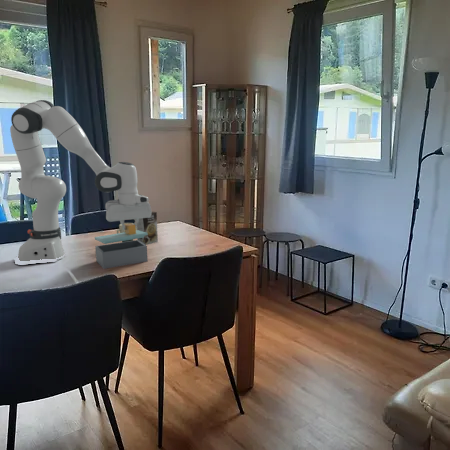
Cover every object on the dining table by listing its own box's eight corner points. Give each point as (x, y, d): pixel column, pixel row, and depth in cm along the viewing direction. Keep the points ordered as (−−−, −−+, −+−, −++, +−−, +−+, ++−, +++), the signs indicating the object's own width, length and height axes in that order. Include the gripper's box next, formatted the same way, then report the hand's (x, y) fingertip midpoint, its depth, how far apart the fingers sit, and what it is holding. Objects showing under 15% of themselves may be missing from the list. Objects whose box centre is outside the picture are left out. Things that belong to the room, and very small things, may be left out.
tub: (103, 270, 191) (102, 252, 189) (96, 263, 201) (95, 246, 199) (147, 262, 201) (146, 245, 199) (138, 256, 211) (137, 239, 209)
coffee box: (145, 245, 228) (144, 215, 224) (137, 243, 232) (135, 213, 228) (158, 241, 235) (157, 212, 232) (150, 239, 239) (148, 210, 235)
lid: (102, 245, 188) (100, 231, 187) (95, 241, 198) (93, 228, 197) (147, 237, 198) (146, 224, 197) (138, 234, 208) (137, 221, 207)
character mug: (121, 253, 215) (119, 227, 212) (115, 250, 221) (113, 224, 218) (141, 249, 222) (139, 224, 219) (134, 246, 227) (133, 221, 224)
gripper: (107, 201, 189) (109, 233, 192) (152, 197, 199) (153, 227, 202) (103, 199, 194) (104, 230, 198) (147, 195, 205) (148, 225, 208)
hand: (129, 229), depth 200 cm, fingers closed on lid, 3 cm apart
